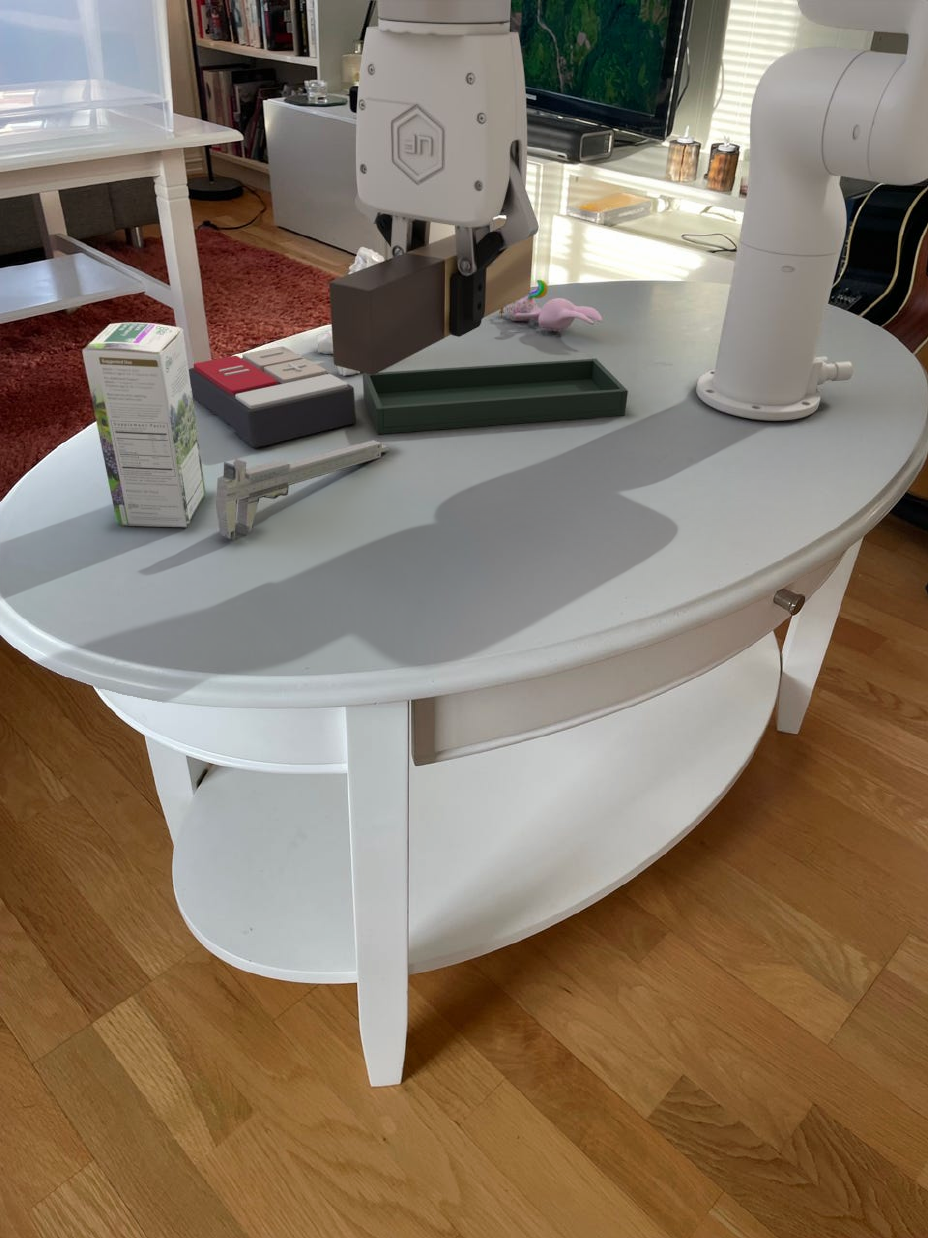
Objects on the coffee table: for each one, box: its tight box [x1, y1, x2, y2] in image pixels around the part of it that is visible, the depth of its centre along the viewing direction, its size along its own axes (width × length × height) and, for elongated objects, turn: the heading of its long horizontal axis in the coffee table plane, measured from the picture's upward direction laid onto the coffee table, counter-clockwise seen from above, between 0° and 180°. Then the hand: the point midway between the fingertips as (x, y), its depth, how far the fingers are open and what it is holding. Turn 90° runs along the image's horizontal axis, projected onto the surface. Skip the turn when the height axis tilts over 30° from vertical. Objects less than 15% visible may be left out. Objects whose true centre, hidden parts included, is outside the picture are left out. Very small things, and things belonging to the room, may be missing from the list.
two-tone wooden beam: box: [328, 217, 535, 375], centre depth 62 cm, size 3×20×5 cm, turn 149°
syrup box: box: [81, 322, 206, 528], centre depth 72 cm, size 6×6×14 cm
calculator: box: [188, 346, 357, 448], centre depth 92 cm, size 11×4×15 cm
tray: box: [362, 358, 629, 435], centre depth 94 cm, size 25×9×3 cm, turn 103°
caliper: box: [215, 439, 391, 541], centre depth 77 cm, size 20×1×6 cm, turn 147°
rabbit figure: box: [498, 279, 603, 332], centre depth 113 cm, size 6×6×15 cm
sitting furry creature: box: [316, 246, 385, 377], centre depth 102 cm, size 10×9×12 cm
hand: (442, 322), depth 63 cm, fingers closed on two-tone wooden beam, 3 cm apart
